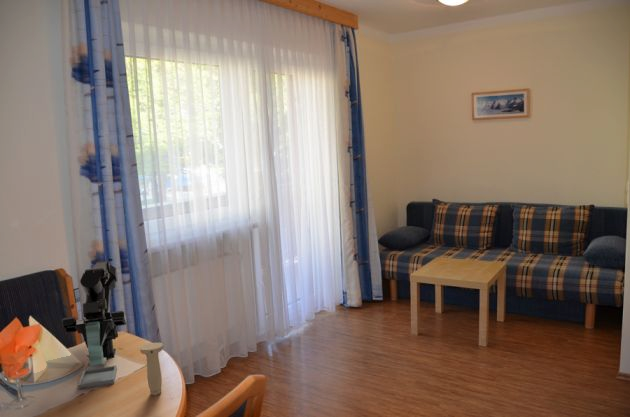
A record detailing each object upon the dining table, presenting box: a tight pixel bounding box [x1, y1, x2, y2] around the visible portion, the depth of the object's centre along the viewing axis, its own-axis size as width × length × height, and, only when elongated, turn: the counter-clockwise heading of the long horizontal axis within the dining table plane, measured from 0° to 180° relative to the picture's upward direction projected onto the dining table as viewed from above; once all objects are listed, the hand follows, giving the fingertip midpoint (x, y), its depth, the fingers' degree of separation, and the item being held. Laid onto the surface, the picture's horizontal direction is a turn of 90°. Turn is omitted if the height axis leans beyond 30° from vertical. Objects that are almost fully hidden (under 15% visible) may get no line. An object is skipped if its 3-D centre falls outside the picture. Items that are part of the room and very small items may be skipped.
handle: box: [139, 342, 164, 396], centre depth 151 cm, size 5×6×15 cm
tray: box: [77, 364, 118, 390], centre depth 162 cm, size 10×10×2 cm
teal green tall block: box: [86, 321, 107, 370], centre depth 161 cm, size 5×5×14 cm
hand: (94, 346), depth 160 cm, fingers closed on teal green tall block, 4 cm apart
